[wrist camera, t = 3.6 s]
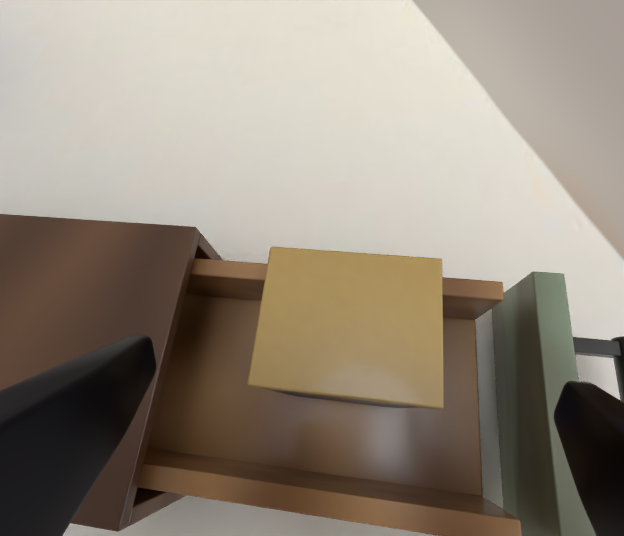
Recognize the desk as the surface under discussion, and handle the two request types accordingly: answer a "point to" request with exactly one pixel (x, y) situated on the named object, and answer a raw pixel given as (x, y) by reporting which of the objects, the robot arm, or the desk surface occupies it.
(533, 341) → the drawer
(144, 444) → the cabinet
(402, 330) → the tea tin
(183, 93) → the desk surface
